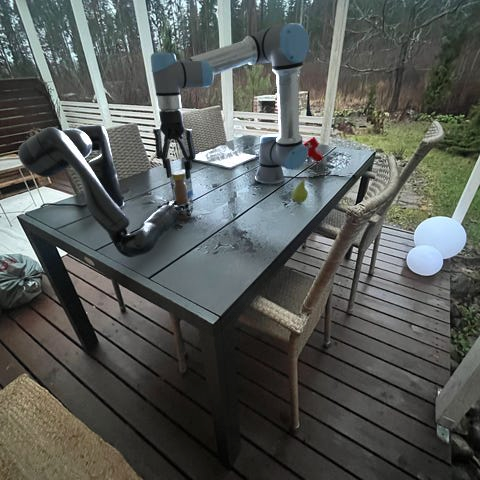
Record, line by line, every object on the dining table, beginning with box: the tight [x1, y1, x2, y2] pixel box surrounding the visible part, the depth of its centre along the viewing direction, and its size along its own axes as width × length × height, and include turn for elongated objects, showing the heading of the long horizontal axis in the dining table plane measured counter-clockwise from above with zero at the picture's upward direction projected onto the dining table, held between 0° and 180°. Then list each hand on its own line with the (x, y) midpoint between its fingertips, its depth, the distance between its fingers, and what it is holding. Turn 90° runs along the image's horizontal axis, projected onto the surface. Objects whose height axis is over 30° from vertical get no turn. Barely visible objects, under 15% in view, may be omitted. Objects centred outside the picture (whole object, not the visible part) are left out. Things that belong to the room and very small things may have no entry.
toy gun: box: [302, 136, 324, 164], centre depth 170 cm, size 18×4×15 cm
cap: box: [171, 170, 185, 180], centre depth 101 cm, size 4×4×2 cm
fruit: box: [291, 174, 311, 204], centre depth 118 cm, size 7×8×12 cm
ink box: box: [169, 168, 194, 200], centre depth 124 cm, size 8×5×12 cm, turn 135°
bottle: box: [174, 179, 191, 220], centre depth 106 cm, size 5×5×18 cm
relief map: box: [192, 144, 257, 170], centre depth 178 cm, size 27×35×5 cm
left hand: (185, 200), depth 109 cm, fingers closed on bottle, 4 cm apart
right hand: (178, 177), depth 101 cm, fingers open, 7 cm apart
